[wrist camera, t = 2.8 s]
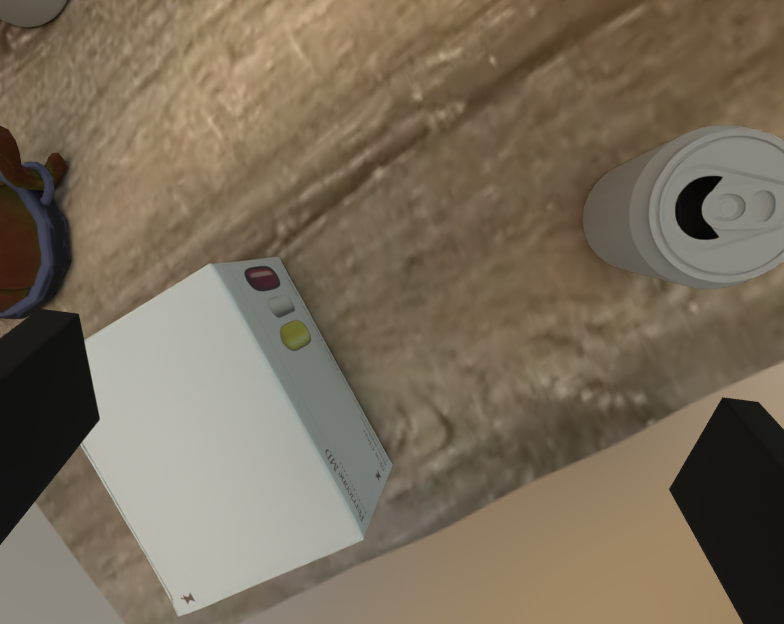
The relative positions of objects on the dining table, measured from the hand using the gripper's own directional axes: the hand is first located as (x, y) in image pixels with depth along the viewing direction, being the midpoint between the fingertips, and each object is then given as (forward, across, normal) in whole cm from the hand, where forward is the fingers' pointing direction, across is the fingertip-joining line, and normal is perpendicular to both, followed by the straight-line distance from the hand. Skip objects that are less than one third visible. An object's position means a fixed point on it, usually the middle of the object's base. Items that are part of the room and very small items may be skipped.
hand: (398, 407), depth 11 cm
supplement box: (+20, -8, -18) cm, 28 cm away
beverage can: (+22, +14, -1) cm, 26 cm away
